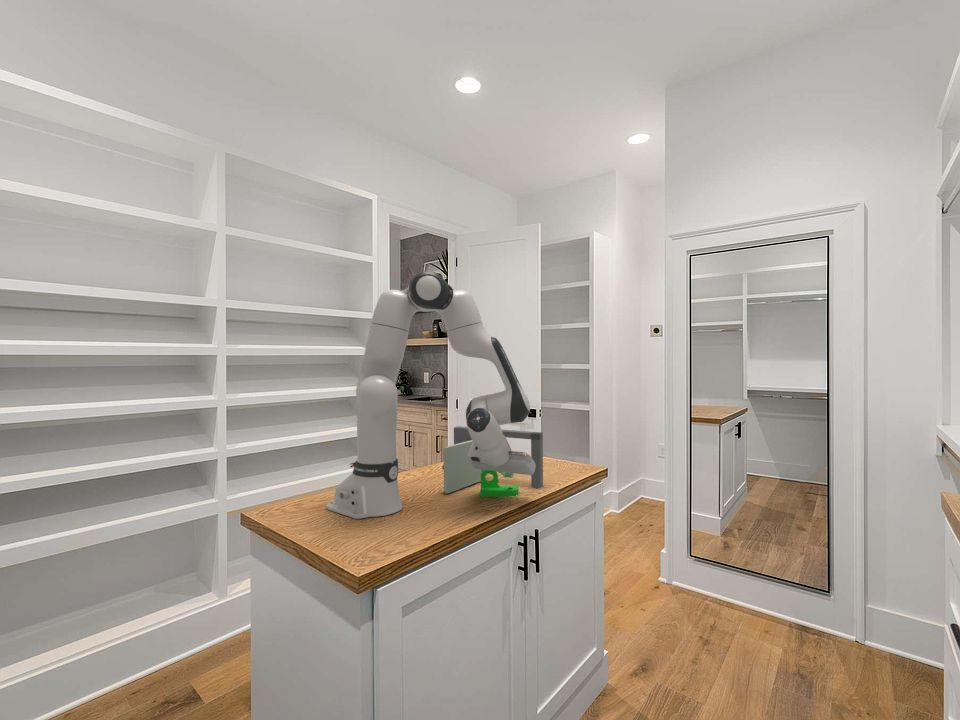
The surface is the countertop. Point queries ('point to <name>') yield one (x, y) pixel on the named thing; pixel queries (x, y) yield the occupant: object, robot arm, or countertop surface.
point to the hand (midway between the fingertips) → (509, 475)
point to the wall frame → (536, 437)
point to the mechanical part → (495, 487)
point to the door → (458, 467)
